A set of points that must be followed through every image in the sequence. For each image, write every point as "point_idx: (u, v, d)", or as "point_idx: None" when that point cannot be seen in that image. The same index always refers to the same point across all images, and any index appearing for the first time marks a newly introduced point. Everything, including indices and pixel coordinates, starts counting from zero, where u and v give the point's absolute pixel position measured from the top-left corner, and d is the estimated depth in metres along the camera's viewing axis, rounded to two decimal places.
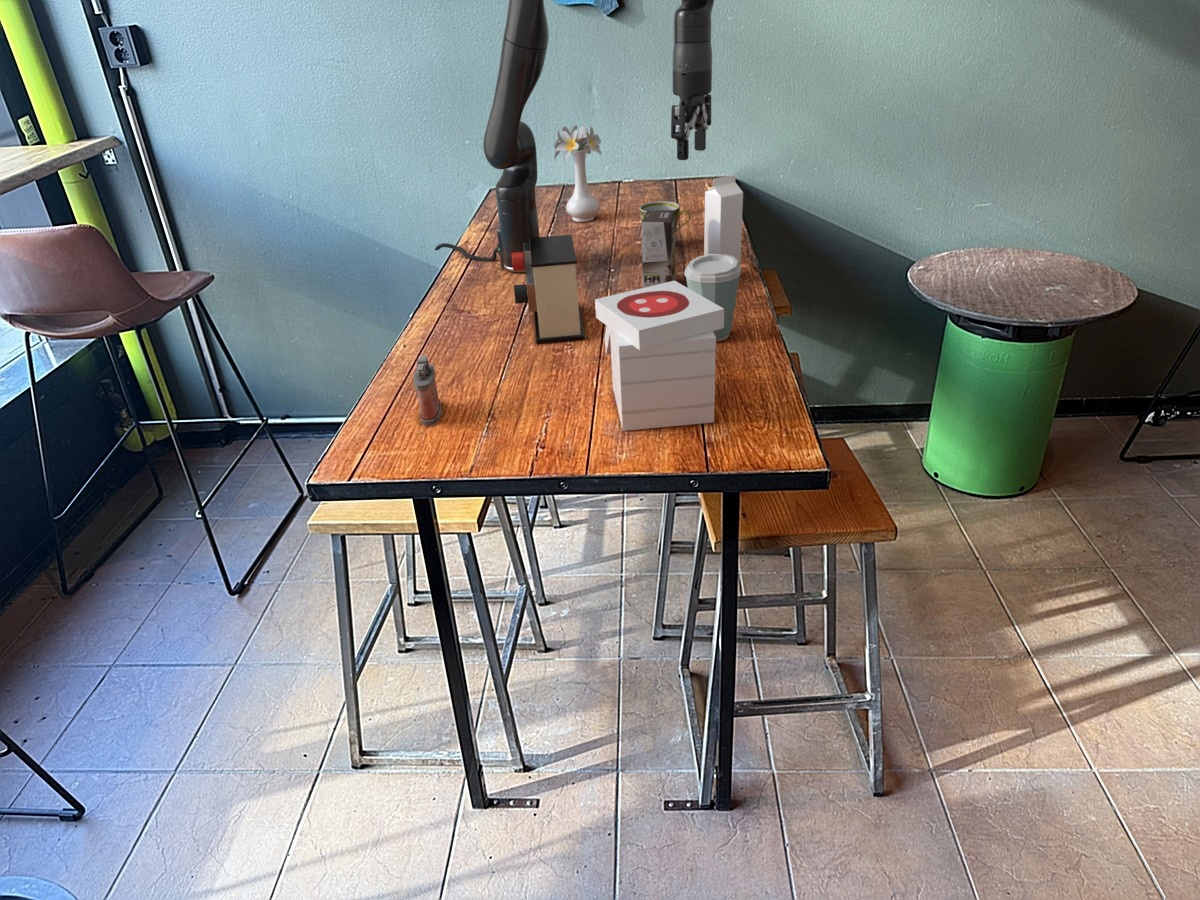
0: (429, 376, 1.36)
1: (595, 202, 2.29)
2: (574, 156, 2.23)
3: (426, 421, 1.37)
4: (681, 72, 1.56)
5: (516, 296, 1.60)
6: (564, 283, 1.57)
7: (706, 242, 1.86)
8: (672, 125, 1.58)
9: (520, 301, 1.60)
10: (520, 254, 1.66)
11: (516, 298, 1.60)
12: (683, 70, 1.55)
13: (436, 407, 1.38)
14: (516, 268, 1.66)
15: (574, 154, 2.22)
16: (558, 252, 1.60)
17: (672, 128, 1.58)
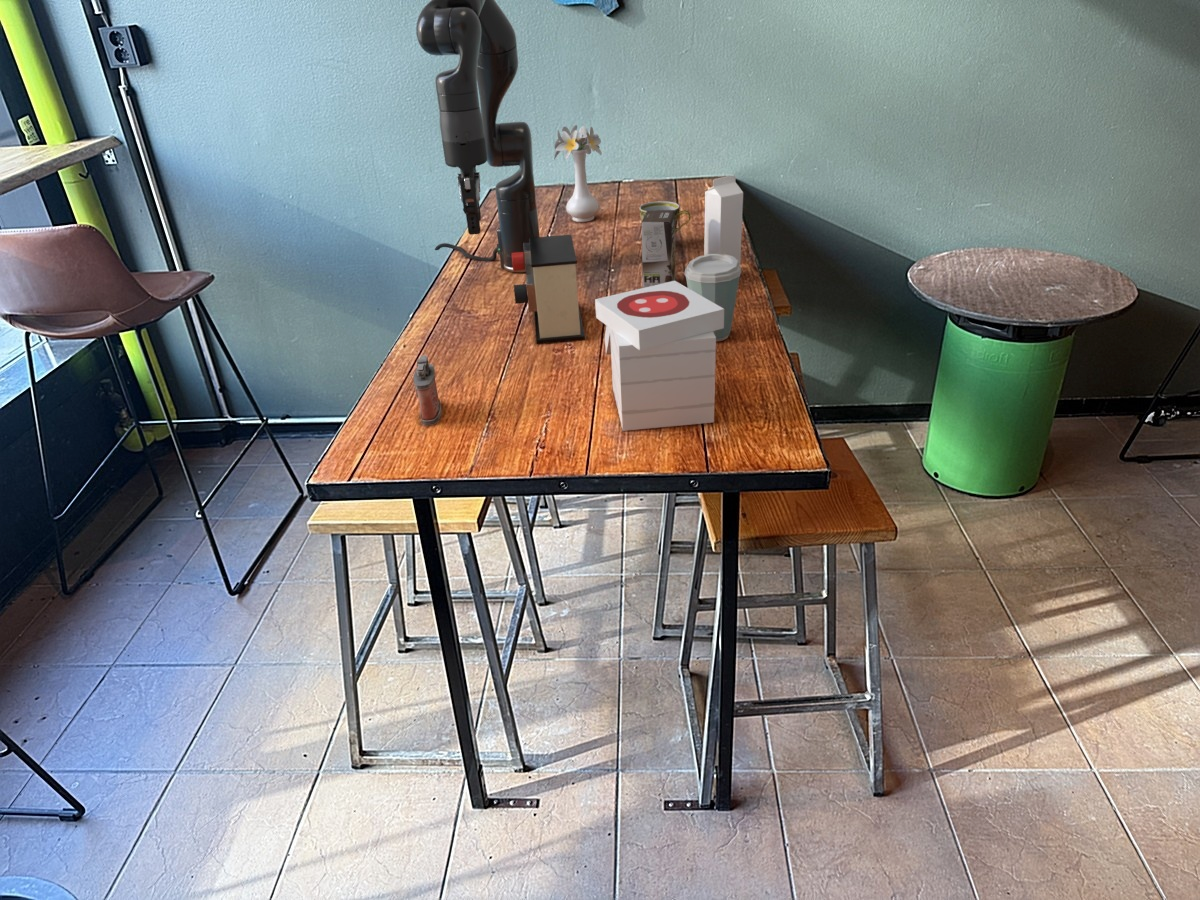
0: (429, 376, 1.36)
1: (595, 202, 2.29)
2: (574, 156, 2.23)
3: (426, 421, 1.37)
4: (459, 143, 1.42)
5: (516, 296, 1.60)
6: (564, 283, 1.57)
7: (706, 242, 1.86)
8: (464, 199, 1.44)
9: (520, 301, 1.60)
10: (520, 254, 1.66)
11: (516, 298, 1.60)
12: (461, 140, 1.42)
13: (436, 407, 1.38)
14: (516, 268, 1.66)
15: (574, 154, 2.22)
16: (558, 252, 1.60)
17: (464, 202, 1.44)
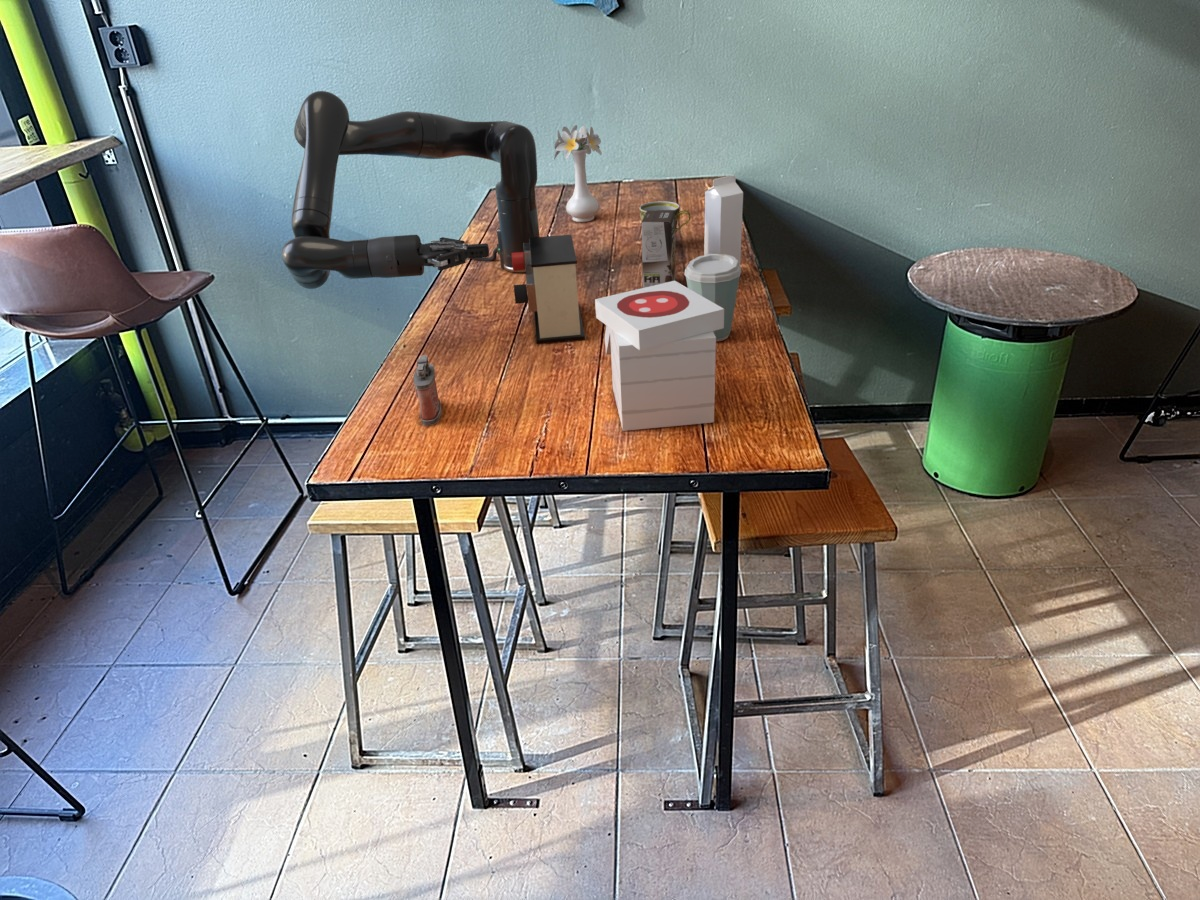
0: (429, 376, 1.36)
1: (595, 202, 2.29)
2: (574, 156, 2.23)
3: (426, 421, 1.37)
4: (397, 266, 1.52)
5: (516, 296, 1.60)
6: (564, 283, 1.57)
7: (706, 242, 1.86)
8: (455, 263, 1.52)
9: (520, 301, 1.60)
10: (520, 254, 1.66)
11: (516, 298, 1.60)
12: (394, 263, 1.52)
13: (436, 407, 1.38)
14: (516, 268, 1.66)
15: (574, 154, 2.22)
16: (558, 252, 1.60)
17: (458, 263, 1.53)
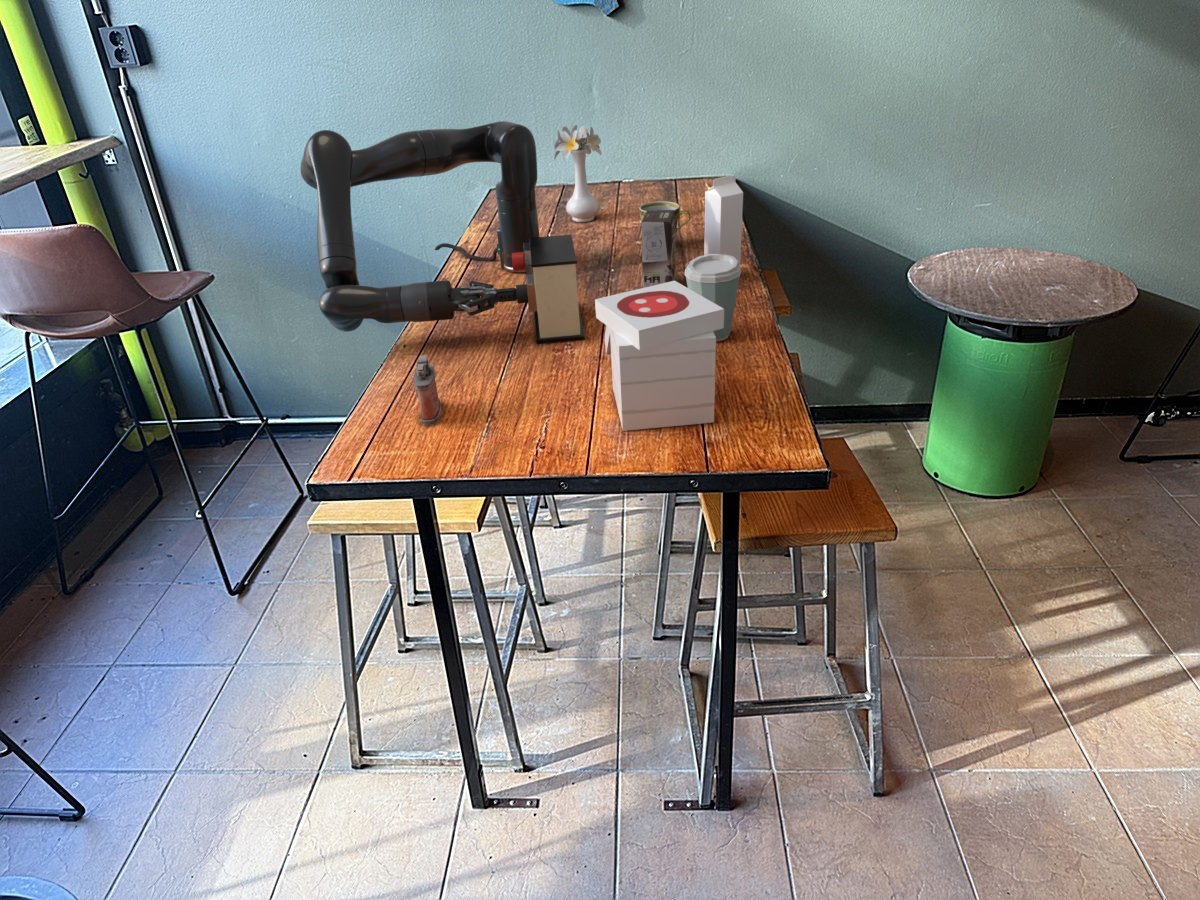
0: (429, 376, 1.36)
1: (595, 202, 2.29)
2: (574, 156, 2.23)
3: (426, 421, 1.37)
4: (429, 311, 1.57)
5: (518, 296, 1.60)
6: (564, 283, 1.57)
7: (706, 242, 1.86)
8: (485, 308, 1.58)
9: (522, 301, 1.60)
10: (520, 254, 1.66)
11: (518, 298, 1.60)
12: (426, 309, 1.57)
13: (436, 407, 1.38)
14: (516, 268, 1.66)
15: (574, 154, 2.22)
16: (558, 252, 1.60)
17: (487, 308, 1.58)
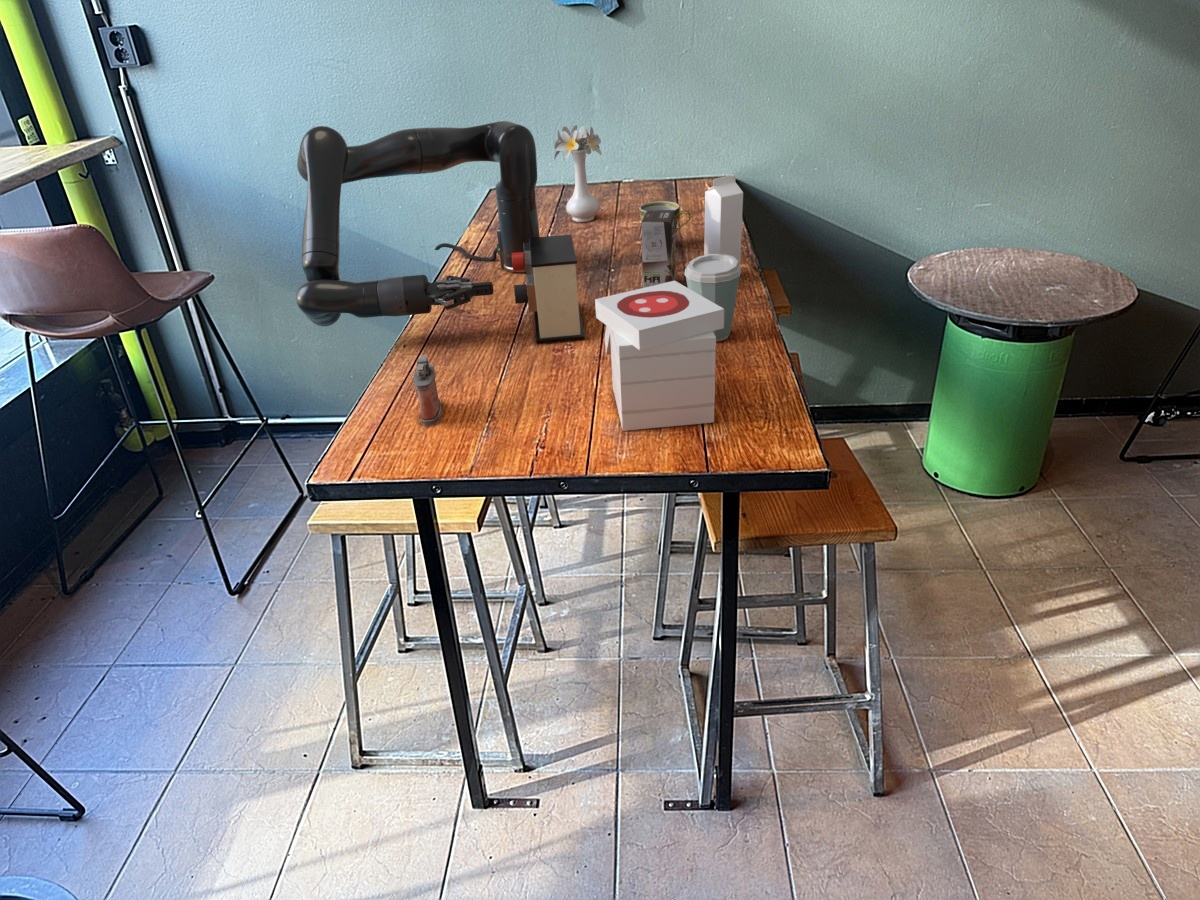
0: (429, 376, 1.36)
1: (595, 202, 2.29)
2: (574, 156, 2.23)
3: (426, 421, 1.37)
4: (405, 305, 1.59)
5: (516, 296, 1.60)
6: (564, 283, 1.57)
7: (706, 242, 1.86)
8: (461, 302, 1.59)
9: (520, 301, 1.60)
10: (520, 254, 1.66)
11: (516, 298, 1.60)
12: (403, 303, 1.58)
13: (436, 407, 1.38)
14: (516, 268, 1.66)
15: (574, 154, 2.22)
16: (558, 252, 1.60)
17: (464, 302, 1.59)
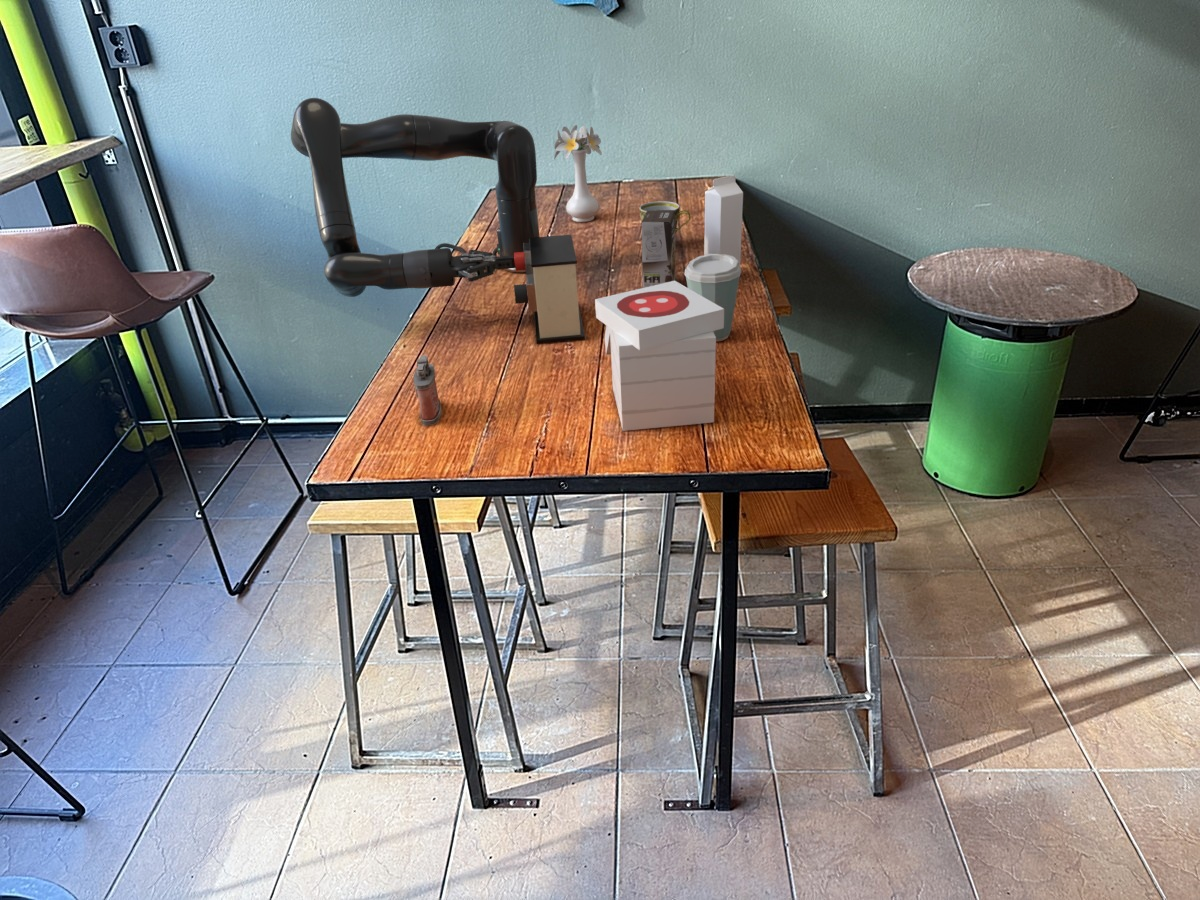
0: (429, 376, 1.36)
1: (595, 202, 2.29)
2: (574, 156, 2.23)
3: (426, 421, 1.37)
4: (430, 277, 1.63)
5: (516, 296, 1.60)
6: (564, 283, 1.57)
7: (706, 242, 1.86)
8: (485, 275, 1.64)
9: (520, 301, 1.60)
10: (523, 254, 1.66)
11: (516, 298, 1.60)
12: (428, 275, 1.63)
13: (436, 407, 1.38)
14: (519, 268, 1.66)
15: (574, 154, 2.22)
16: (558, 252, 1.60)
17: (487, 274, 1.64)
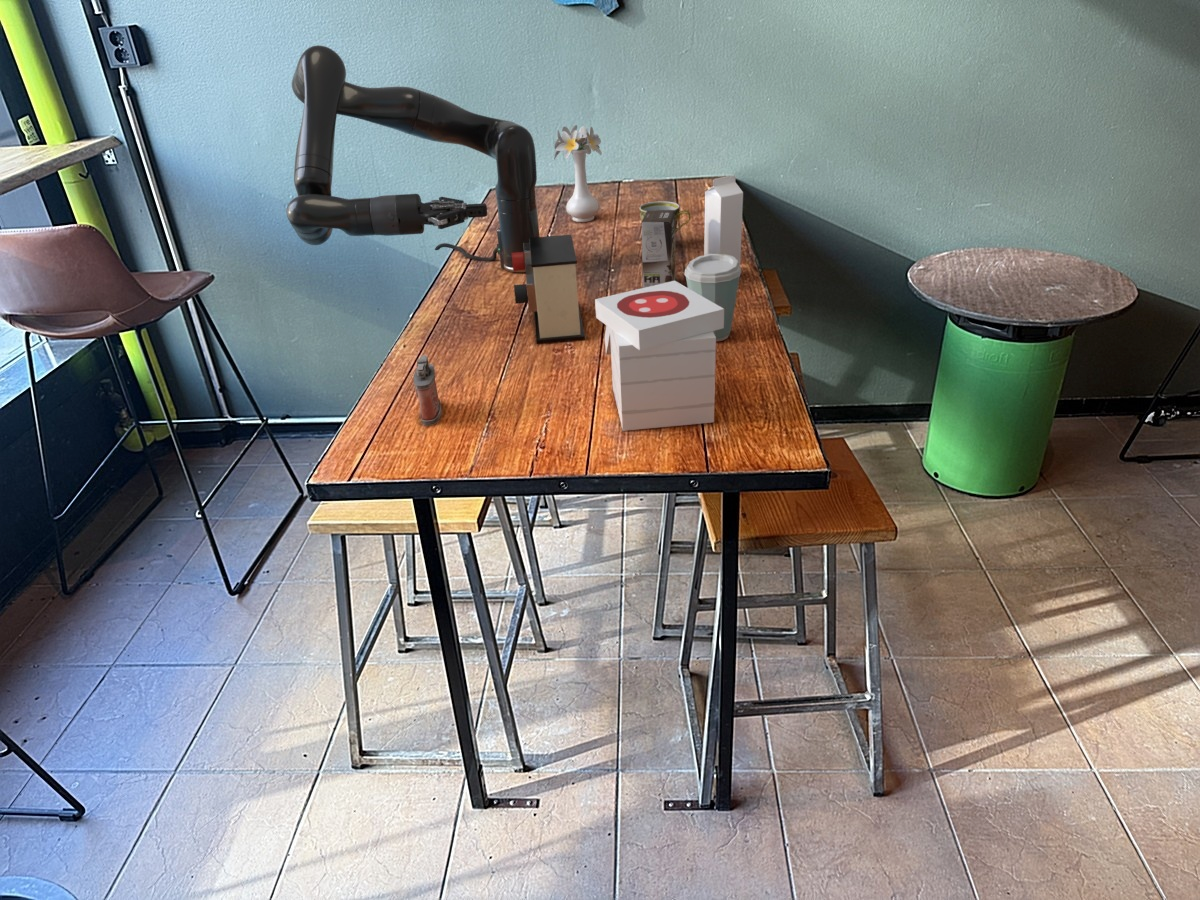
0: (429, 376, 1.36)
1: (595, 202, 2.29)
2: (574, 156, 2.23)
3: (426, 421, 1.37)
4: (398, 224, 1.57)
5: (516, 296, 1.60)
6: (564, 283, 1.57)
7: (706, 242, 1.86)
8: (455, 222, 1.58)
9: (520, 301, 1.60)
10: (520, 254, 1.66)
11: (516, 298, 1.60)
12: (395, 221, 1.57)
13: (436, 407, 1.38)
14: (516, 268, 1.66)
15: (574, 154, 2.22)
16: (558, 252, 1.60)
17: (457, 222, 1.58)
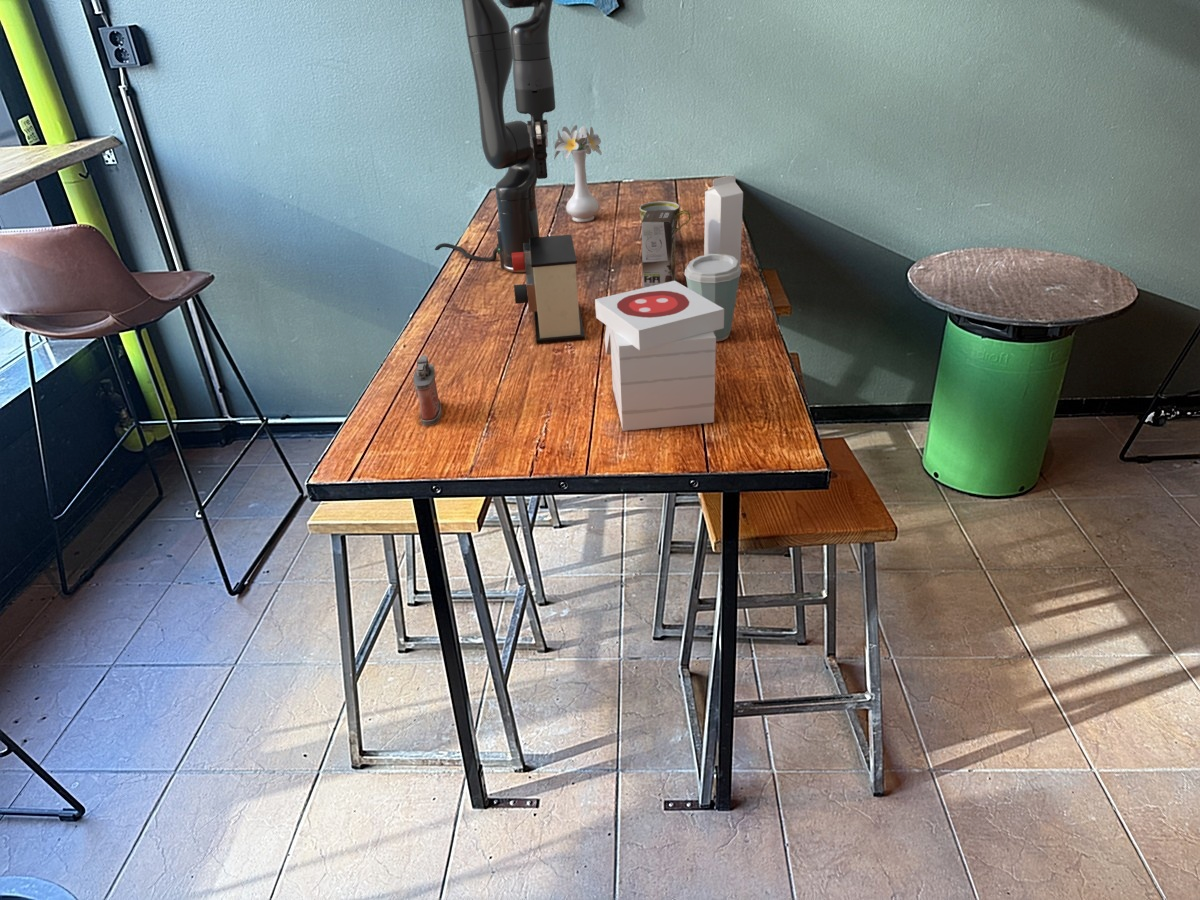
0: (429, 376, 1.36)
1: (595, 202, 2.29)
2: (574, 156, 2.23)
3: (426, 421, 1.37)
4: (531, 90, 1.54)
5: (516, 296, 1.60)
6: (564, 283, 1.57)
7: (706, 242, 1.86)
8: (535, 151, 1.59)
9: (520, 301, 1.60)
10: (520, 254, 1.66)
11: (516, 298, 1.60)
12: (533, 87, 1.53)
13: (436, 407, 1.38)
14: (516, 268, 1.66)
15: (574, 154, 2.22)
16: (558, 252, 1.60)
17: (535, 152, 1.59)
